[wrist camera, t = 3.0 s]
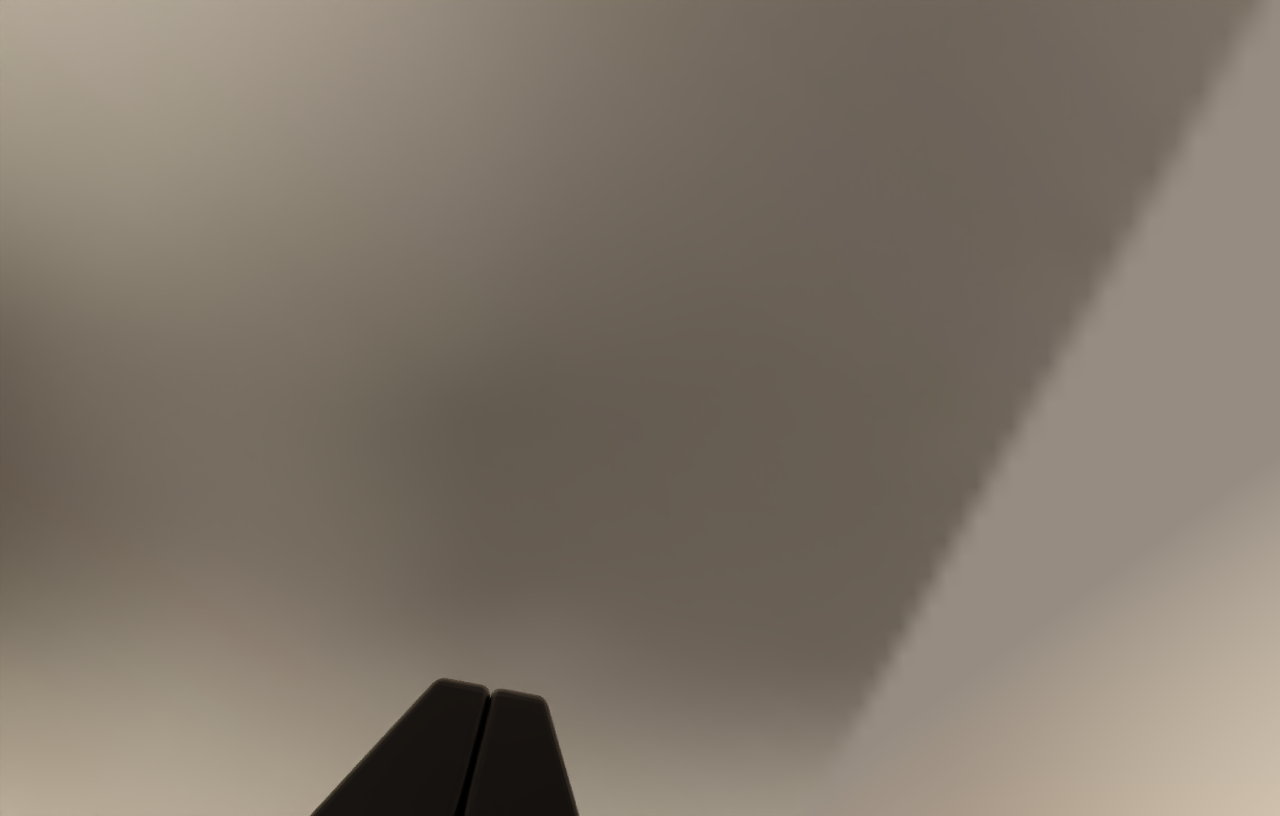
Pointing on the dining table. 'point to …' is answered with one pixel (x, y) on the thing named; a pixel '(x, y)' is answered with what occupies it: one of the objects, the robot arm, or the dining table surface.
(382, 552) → the dining table surface
